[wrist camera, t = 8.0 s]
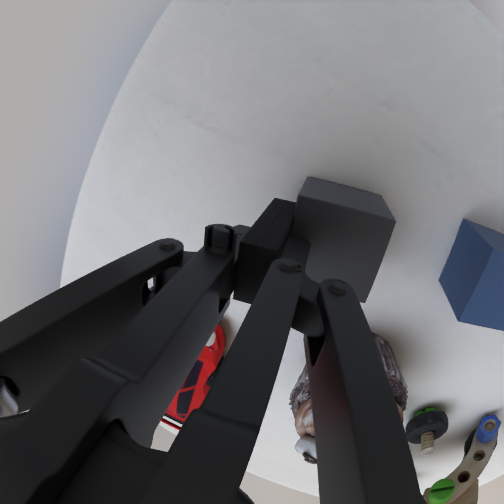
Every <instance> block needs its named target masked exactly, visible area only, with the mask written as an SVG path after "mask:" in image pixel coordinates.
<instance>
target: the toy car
mask: <svg viewBox="0 0 504 504" xmlns="http://www.w3.org/2000/svg"><path fill="white" fill-rule="evenodd" d="M225 347H226V338H225V335H224V331H223V329H222V328H221V327H220V326H219V325H217V327H216V329H215V330H214V332H213V334H212V335H211V337H210V339H209V340H208V342H207V344H206V345H205V347H204V349H203V350H202V352H201V354H200V356H199V357H198V359H197V361H196V362H195V364H194V366H193V367H192V369H191V371H190V372H189V374H188V376H187V377H186V379H185V381H184V382H183V384H182V386H181V387H180V389H179V391H178V392H177V394H176V396H175V397H174V399H173V401H172V402H171V404H170V406H169V407H168V409H167V411H166V412H165V414H164V416H166V417H168V418H170V419H172V420H174V421H176V422H178V423H180V424H182V425H183V424H184V422H185V420H186V418H187V417H188V415H189V414H190V412H191V411H192V410H193V409H196V408H199V407H200V405H201V404H202V402H203V400H204V398H205V396H206V394H207V392H208V391H209V389H210V387H211V385H212V383H213V381H214V379H215V377H216V375H217V373H218V371H219V369H220V367H221V365H222V363H223V361H224V359H225V358H224V357H223V356H222V355H223V352H224V349H225ZM161 421H162V422H164V423H166V424H168V425H170V426H172V427H174V428H176V429H178V430H180V429H181V427H179V426H177V425H175V424H173V423H171V422H169V421H167V420H165V419H163V418H162V419H161Z"/></svg>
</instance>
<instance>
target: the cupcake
mask: <svg viewBox="0 0 504 504" xmlns="http://www.w3.org/2000/svg"><path fill="white" fill-rule="evenodd" d="M372 336H373V338H374V341H375V343H376V346H377V349H378V351H379V354H380V357H381V360H382V362H383V365H384V368H385V371H386V374H387V377H388V380H389V382H390V385H391V388H392V391H393V394H394V397H395V401H396V404H397V407H398V410H399V413H400V417H401V420H402V423H403V411H404V410H405V409H406V404H407V402H406V400H407V397H408V395H407V393H408V391H407V385H406V383H405V381H404V379H403V376H402V374H401V372H400V369H399V367H398V364H397V362H396V359H395V356H394V354H393V351H392V349H391V347H390V346H389V344H388V342H387V341H384V340H383V339H382V338H381V337H380V336H378V335H376V334H374V333H372ZM290 395H291V396H290V398H289V399H290V400H291V401H290V403H289V405H292V406H291V409H292V412H293V415H294V418H295V427H296V430H297V433H298V434H299V436H300V437H301V438H300V439H299V440H298V441H297V443H296V445H295V449H296V451H297V452H299V453H301V454H302V455H303V456H304V458H305V459H304V460H305V461H307V462H309V463H312V464H317V456H316V445H315V435H314V425H313V415H312V406H311V397H310V388H309V379H308V371H307V363H306V365H305V367H304V370H303V372H302V374H301V375H300V377H299V379H298V381H297V383H296V385H295V387H294V389H293V390H292V392H291V394H290Z"/></svg>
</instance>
